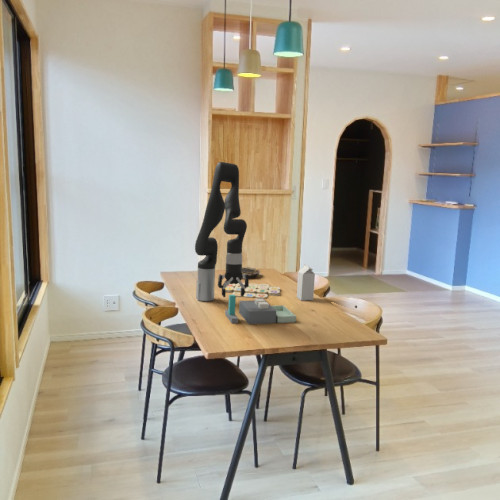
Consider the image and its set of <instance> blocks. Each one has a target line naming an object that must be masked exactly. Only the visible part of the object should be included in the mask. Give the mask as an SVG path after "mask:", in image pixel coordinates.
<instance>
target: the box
mask: <svg viewBox="0 0 500 500" xmlns="http://www.w3.org/2000/svg"><path fill="white" fill-rule="evenodd" d="M271 306H272V307H273V308H274V309H275V310H276V323H277V324H283V323H284V324H285V323H287V324H288V323H296V322H297V315H296V314H294V313H293V312H292V311H291V310H290V309H289V308H287V307H286V306H285V305H284V304H282V305H271Z"/></svg>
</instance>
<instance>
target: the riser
mask: <svg viewBox="0 0 500 500" xmlns="http://www.w3.org/2000/svg"><path fill="white" fill-rule="evenodd" d="M265 302H267V300H265ZM267 303H268V304H269V302H267ZM238 305H239V306H238V307H239V308H238V313H239V314H240V315H241V317H242V318H243V319H244V321H245V322H246V323H247V324H248V325H258V324H259V325H261V324H265V325H266V324H276V323H277V322H276V310H275V309H274V308H273V307H272V306H273V305H271V304H269V308H263V309H260V308H259V307H258V305H256V304H255V299H254V300H252V299H251V300H239V304H238Z"/></svg>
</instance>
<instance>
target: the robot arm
mask: <svg viewBox="0 0 500 500" xmlns="http://www.w3.org/2000/svg"><path fill="white" fill-rule="evenodd" d="M222 182H224V183H230V184H231V187H230V189H229V191H228V193H227V194H226V196H225V199H224V198H223V195H222V192H221V184H222ZM210 189H211V190H210V192H209V197H208V200H207V204H206V207H205V211H204V216H203V219H202V223H201V227H200V230H199V233H198V235H197V237H196V241H195V244H194V251H195V254H196V255H198V256H204V258H203V259H201V260H199V261H198V263H197V278H196V279H197V280H196V287H195V288H196V290H195V291H196V293H195V294H196V295H195V299H196V300H197V301H198V302H200V301H201V302H211V301H214V300H215V283H216V281H215V280H216V265H217V261H218V252H219V251H218V241H217V239H216V238H215V237H211V233H212V232H213V231H214V230H215V228H216V227H218V225H219V224H220V223H221V221H222V220H223V217H224V214H225V219H224V223H223V231H224V233H225V234H226V235H236V237H235V238H232V239H228V240H227V241H226V255H225V256H226V257H225V274H218V277H217V278H218V280H217V287H218V288H219V289H221V296H222V297H223V298H226V293H227V292H226V289H225V288H226V287H227V286H228V285H229V283H230V284H237V283H239V284H240V286H241V296H243V295H244V294H245V293H244V292H245V288H246V287H249V283H250V282H249V280H250V279H249V277H248V275H247V274H245V275H242V267H243V242H244V238H245V235H246V233H247V232H246V231H247V228H248V224H247V222H246V221H245V220H244V219H243V218H242V219H240V218H239V217H240V216H241V214H242V213H241V205H240V197H239V195H240V193H239V192H240V171H239V166H238V165H237V164H236V163H230V162H224V161H219V162H217V164H216V166H215V168H214V173H213V180H212V185H211V188H210ZM242 277H243V278H244V282H243V281H242V280H243V279H242ZM224 279H225V281H224V282H223V280H224ZM222 283H223V284H222ZM243 283H245V284H244V285H243Z"/></svg>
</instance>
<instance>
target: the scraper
mask: <svg viewBox="0 0 500 500" xmlns="http://www.w3.org/2000/svg"><path fill="white" fill-rule="evenodd" d="M236 298H237V297H236V296H235V295H232V294H229V295H228V309H224V314H225V316H226V318H227V320H228V322H230V323H231V324H239V317H238V316H237V315H236V300H237V299H236Z"/></svg>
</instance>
